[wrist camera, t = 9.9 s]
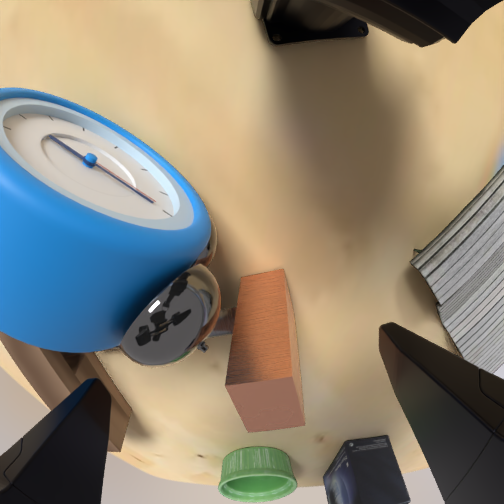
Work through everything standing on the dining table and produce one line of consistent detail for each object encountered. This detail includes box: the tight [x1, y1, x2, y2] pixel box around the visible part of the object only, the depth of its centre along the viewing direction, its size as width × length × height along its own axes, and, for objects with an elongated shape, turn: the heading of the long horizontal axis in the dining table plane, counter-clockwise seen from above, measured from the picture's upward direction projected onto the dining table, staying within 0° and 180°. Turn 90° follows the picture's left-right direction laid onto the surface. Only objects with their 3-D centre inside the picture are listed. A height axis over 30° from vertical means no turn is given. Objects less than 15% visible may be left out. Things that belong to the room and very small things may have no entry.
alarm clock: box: [0, 88, 221, 367], centre depth 13 cm, size 13×6×15 cm
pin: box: [106, 269, 305, 432], centre depth 19 cm, size 16×4×10 cm, turn 104°
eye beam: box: [0, 331, 132, 452], centre depth 21 cm, size 4×20×6 cm, turn 13°
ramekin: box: [218, 447, 297, 502], centre depth 31 cm, size 9×9×4 cm
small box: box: [323, 435, 411, 504], centre depth 29 cm, size 11×6×10 cm, turn 175°
